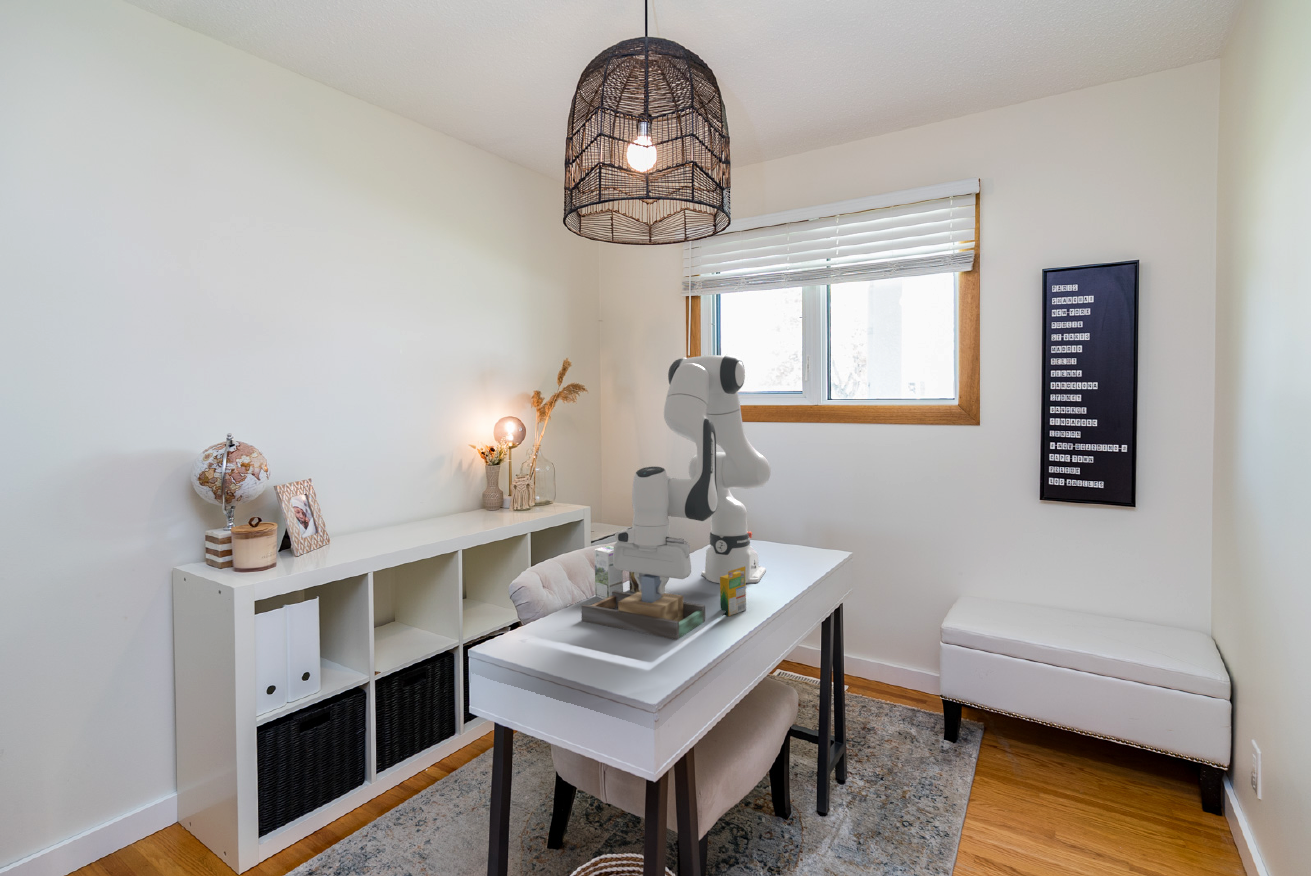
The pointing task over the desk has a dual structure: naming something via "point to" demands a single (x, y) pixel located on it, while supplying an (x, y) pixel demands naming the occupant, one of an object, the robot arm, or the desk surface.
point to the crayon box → (733, 592)
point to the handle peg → (650, 588)
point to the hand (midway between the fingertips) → (651, 592)
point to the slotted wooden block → (654, 606)
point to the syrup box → (606, 573)
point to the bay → (642, 618)
